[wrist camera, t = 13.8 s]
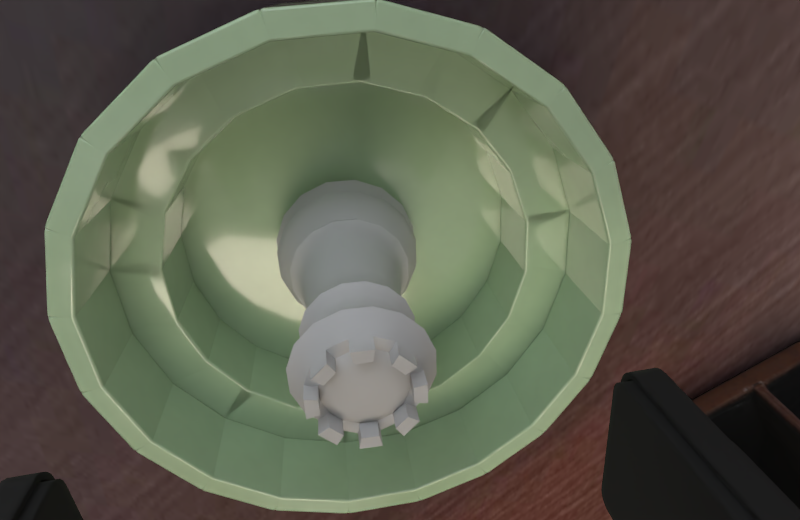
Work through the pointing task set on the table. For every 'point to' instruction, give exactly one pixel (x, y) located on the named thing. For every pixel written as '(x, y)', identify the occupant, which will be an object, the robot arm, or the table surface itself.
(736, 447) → the robot arm
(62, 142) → the table surface
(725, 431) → the letter holder
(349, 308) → the rook chess piece
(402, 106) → the bowl
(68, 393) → the table surface
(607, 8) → the table surface
